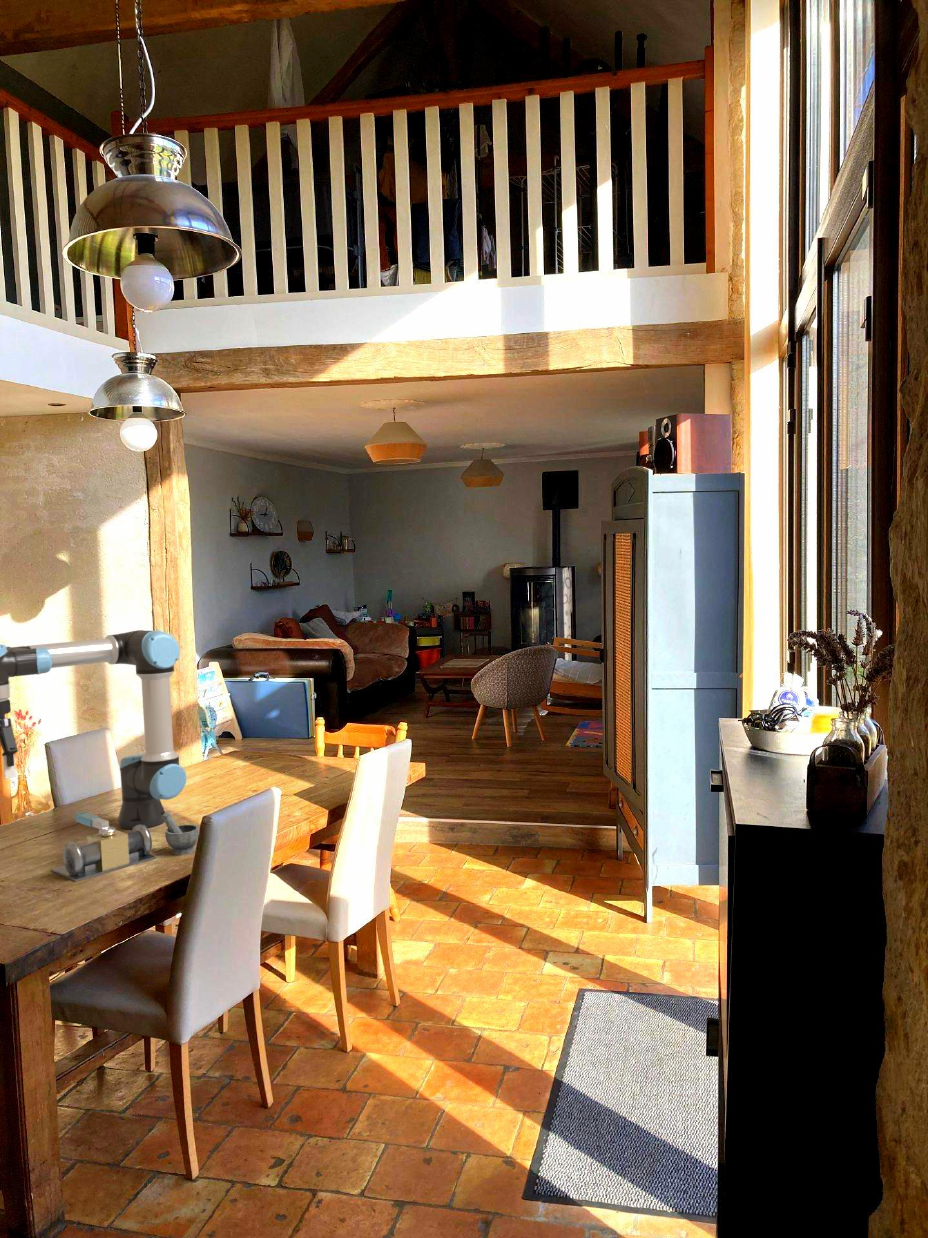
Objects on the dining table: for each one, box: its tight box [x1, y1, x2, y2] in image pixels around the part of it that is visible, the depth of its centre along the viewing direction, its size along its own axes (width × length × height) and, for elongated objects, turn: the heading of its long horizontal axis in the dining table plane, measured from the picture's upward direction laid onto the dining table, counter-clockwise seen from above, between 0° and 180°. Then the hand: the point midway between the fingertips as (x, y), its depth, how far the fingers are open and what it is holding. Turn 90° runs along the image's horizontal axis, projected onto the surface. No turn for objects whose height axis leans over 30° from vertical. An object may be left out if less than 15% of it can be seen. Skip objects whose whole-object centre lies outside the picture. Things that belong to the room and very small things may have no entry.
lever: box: [75, 811, 116, 837], centre depth 268 cm, size 4×20×4 cm, turn 48°
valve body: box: [50, 824, 157, 882], centre depth 266 cm, size 24×15×10 cm, turn 138°
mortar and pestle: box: [161, 811, 200, 856], centre depth 275 cm, size 11×9×12 cm
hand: (0, 774), depth 261 cm, fingers open, 13 cm apart
